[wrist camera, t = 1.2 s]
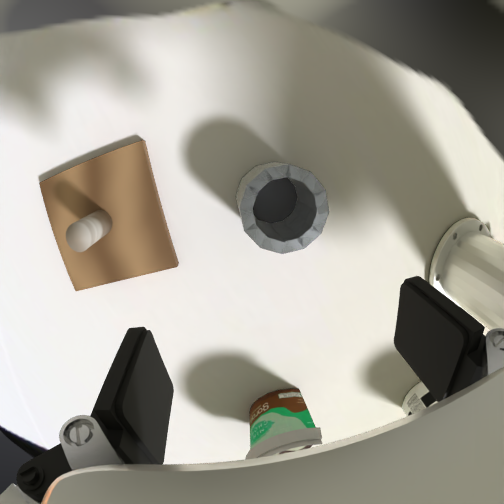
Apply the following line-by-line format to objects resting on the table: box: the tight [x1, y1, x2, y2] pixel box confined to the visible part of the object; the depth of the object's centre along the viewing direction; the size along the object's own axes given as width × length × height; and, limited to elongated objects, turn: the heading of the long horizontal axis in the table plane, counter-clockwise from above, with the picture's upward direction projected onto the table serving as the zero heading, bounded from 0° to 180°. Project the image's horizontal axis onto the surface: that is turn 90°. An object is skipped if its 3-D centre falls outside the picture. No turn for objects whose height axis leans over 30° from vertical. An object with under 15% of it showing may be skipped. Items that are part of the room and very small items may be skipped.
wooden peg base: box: [39, 140, 179, 291], centre depth 22 cm, size 12×12×6 cm
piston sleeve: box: [236, 162, 329, 254], centre depth 23 cm, size 6×6×6 cm
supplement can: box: [402, 381, 438, 416], centre depth 32 cm, size 8×8×15 cm
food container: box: [245, 389, 322, 460], centre depth 30 cm, size 12×6×10 cm, turn 160°
